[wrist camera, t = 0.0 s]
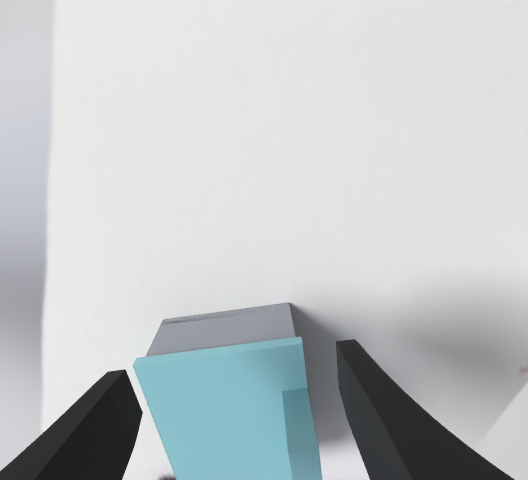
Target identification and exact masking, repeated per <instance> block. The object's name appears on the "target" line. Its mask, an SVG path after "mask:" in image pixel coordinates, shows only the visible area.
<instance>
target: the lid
mask: <svg viewBox="0 0 528 480" xmlns="http://www.w3.org/2000/svg"><path fill="white" fill-rule="evenodd" d="M133 368H134V370H135V373H136V375H137V378H138V381H139V383H140V386H141V388H142V391H143V394H144V396H145V399H146V401H147V404H148V407H149V409H150V412H151V414H152V417H153V420H154V422H155V425H156V427H157V430H158V433H159V435H160V438H161V440H162V443H163V446H164V448H165V451H166V453H167V456H168V459H169V461H170V464H171V466H172V469H173V472H174V474H175V477H176V479H177V480H322V473H321V464H320V455H319V446H318V441H317V436H316V431H315V426H314V421H313V416H312V411H311V406H310V401H309V393H308V385H307V376H306V368H305V359H304V351H303V343H302V338H301V336H300V337H292V338H285V339H277V340H270V341H262V342H255V343H247V344H240V345H232V346H225V347H217V348H209V349H202V350H194V351H187V352H179V353H172V354H164V355H157V356H149V357H142V358H137V359H136V361H135V363H134V365H133Z"/></svg>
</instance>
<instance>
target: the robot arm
mask: <svg viewBox="0 0 528 480" xmlns="http://www.w3.org/2000/svg"><path fill="white" fill-rule="evenodd" d="M336 350H337V365H338V380H339V389H340V393H341V397H342V401H343V405H344V408H345V412H346V415H347V419H348V422H349V425H350V427H351V430H352V433H353V435H354V438H355V441H356V443H357V446H358V449H359V451H360V454H361V457H362V459H363V462H364V465H365V467H366V470H367V472H368V475H369V478H370V480H514V479H513V478H511V477H510V476H508V475H507V474H505V473H504V472H503V471H501V470H500V469H498V468H497V467H496V466H494V465H493V464H491V463H490V462H488V461H487V460H486V459H485V458H483V457H482V456H481V455H479V454H478V453H477V452H475V451H474V450H473V449H471V448H470V447H469V446H467V445H466V444H465V443H464V442H462V441H461V440H460V439H459V438H457V437H456V436H455V435H454V434H452V433H451V432H450V431H449V430H447V429H446V428H445V427H444V426H442V425H441V424H440V423H439V422H438V421H437V420H435V419H434V418H433V417H432V416H431V415H430V414H428V413H427V412H426V411H425V410H424V409H423V408H422V407H421V406H419V405H418V404H417V403H416V402H415V401H414V400H413V399H412V398H411V397H410V396H409V395H408V394H406V393H405V392H404V391H403V390H402V389H401V388H400V387H399V386H398V385H397V384H396V383H395V382H394V381H393V380H392V379H391V378H390V377H389V376H388V375H387V374H386V373H385V372H384V371H383V370H382V369H381V368H380V366H379V365H378V364H377V363H376V362H375V361H374V360H373V359H372V358H371V357H370V356H369V355H368V353H367V352H366V351H365V350H364V349H363V348H362V347H361V345H360V344H359V343H358V342H357V341H356V340H354V339H353V340H345V341H338V342H336ZM142 413H143V412H142V410H141V407H140V405H139V402H138V400H137V397H136V395H135V392H134V390H133V387H132V385H131V382H130V380H129V377H128V375H127V372H126V370H118V371H110V372H107V373H106V374H105V375H104V376H103V377H102V378H101V379H99V380H98V381H97V382H96V383H95V384H94V385H93V386H92V387H91V388H90V389H89V390H88V391H87V392H86V393H85V394H84V395H83V396H82V397H81V398H79V399H78V400H77V401H76V402H75V403H74V404H73V405H72V406H71V407H70V408H69V409H68V410H67V411H66V412H65V413H64V414H63V415H62V416H61V417H60V418H59V419H58V420H56V421H55V422H54V423H53V424H52V425H51V426H50V427H49V428H48V429H47V430H46V431H45V432H44V433H43V434H42V435H40V436H39V437H38V438H37V439H36V440H35V441H34V442H33V443H32V444H31V445H29V446H28V447H27V448H26V449H25V450H24V451H23V452H22V453H20V454H19V455H18V456H17V457H16V458H15V459H14V460H13V461H12V462H11V463H9V464H8V465H7V466H6V467H5V468H4V469H2V470H1V471H0V480H122V478H123V476H124V473H125V470H126V467H127V465H128V462H129V459H130V457H131V454H132V451H133V448H134V445H135V442H136V438H137V434H138V430H139V426H140V422H141V418H142Z"/></svg>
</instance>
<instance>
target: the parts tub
mask: <svg viewBox="0 0 528 480" xmlns="http://www.w3.org/2000/svg"><path fill="white" fill-rule="evenodd" d="M292 337H296V336H295V331H294V326H293V320H292V315H291V310H290V305H289V303H284V304H276V305H269V306H262V307H254V308H247V309H239V310H232V311H225V312H217V313H210V314H203V315H195V316H188V317H181V318H173V319H166V320H163V321H162V323H161V325H160V327H159V329H158V332H157V334H156V336H155V338H154V340H153V342H152V344H151V346H150V349H149V351H148V353H147V355H146V357H149V356H157V355H164V354H172V353H179V352H187V351H194V350H202V349H209V348H217V347H225V346H232V345H240V344H247V343H255V342H262V341H270V340H277V339H285V338H292Z"/></svg>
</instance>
